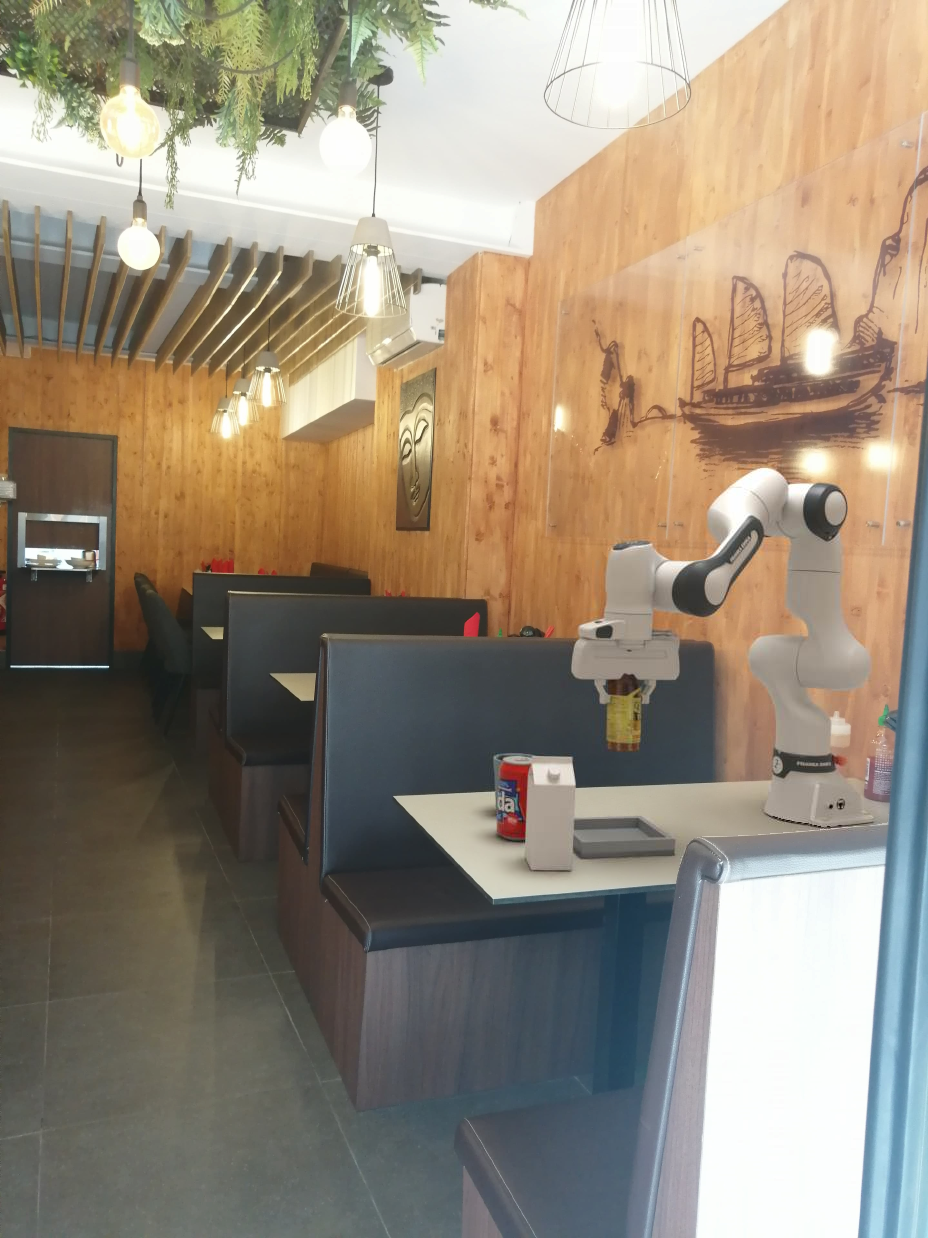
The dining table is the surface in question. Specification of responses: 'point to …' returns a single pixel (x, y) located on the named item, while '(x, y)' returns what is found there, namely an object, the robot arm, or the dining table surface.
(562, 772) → the milk carton
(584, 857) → the tray
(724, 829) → the dining table surface
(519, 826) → the soda can
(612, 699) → the sauce bottle
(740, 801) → the dining table surface
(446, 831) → the dining table surface
